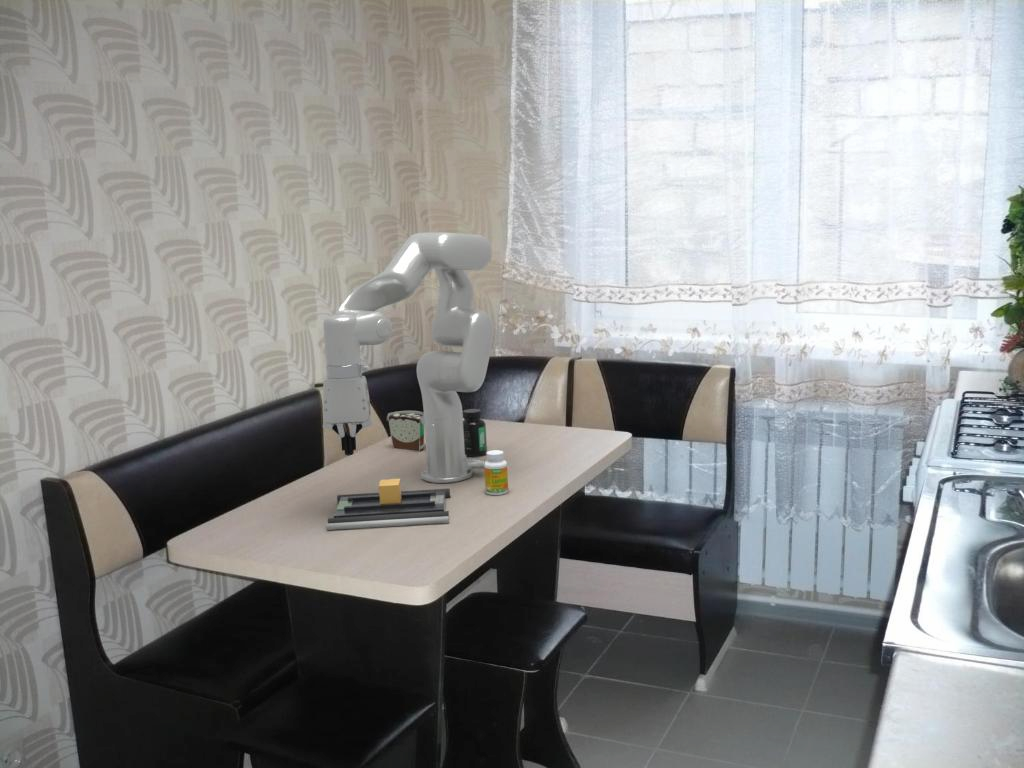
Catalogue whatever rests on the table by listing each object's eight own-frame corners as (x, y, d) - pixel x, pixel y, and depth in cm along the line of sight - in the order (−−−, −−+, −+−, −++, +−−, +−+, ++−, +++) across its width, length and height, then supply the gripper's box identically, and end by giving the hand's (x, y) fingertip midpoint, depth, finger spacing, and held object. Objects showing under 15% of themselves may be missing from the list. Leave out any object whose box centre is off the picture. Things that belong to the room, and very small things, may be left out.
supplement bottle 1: (489, 456, 281) (487, 412, 279) (464, 458, 279) (461, 414, 277) (484, 450, 288) (481, 406, 285) (459, 452, 286) (456, 409, 284)
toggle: (401, 497, 240) (400, 478, 239) (400, 504, 235) (398, 484, 234) (382, 498, 240) (380, 479, 239) (380, 505, 235) (378, 486, 234)
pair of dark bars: (450, 495, 247) (449, 487, 247) (448, 523, 227) (448, 514, 227) (338, 502, 247) (338, 494, 246) (327, 531, 227) (326, 522, 226)
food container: (437, 447, 293) (435, 412, 291) (424, 452, 288) (421, 416, 286) (402, 443, 300) (400, 408, 298) (388, 448, 294) (386, 413, 293)
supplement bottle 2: (491, 497, 245) (489, 456, 243) (481, 491, 249) (479, 451, 248) (512, 493, 247) (510, 452, 245) (502, 487, 252) (499, 448, 250)
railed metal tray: (445, 499, 245) (444, 487, 244) (444, 518, 231) (443, 505, 231) (341, 505, 244) (340, 493, 244) (334, 524, 230) (333, 512, 230)
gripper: (379, 367, 235) (384, 448, 238) (312, 370, 235) (317, 451, 238) (376, 373, 228) (381, 456, 231) (307, 376, 227) (313, 459, 230)
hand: (349, 453), depth 234 cm, fingers closed
